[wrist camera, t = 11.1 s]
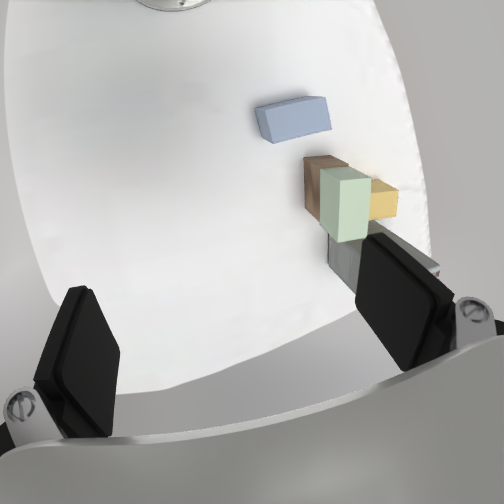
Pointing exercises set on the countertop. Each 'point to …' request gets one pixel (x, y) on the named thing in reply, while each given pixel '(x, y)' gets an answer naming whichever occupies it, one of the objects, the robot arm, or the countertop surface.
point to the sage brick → (344, 203)
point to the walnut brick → (316, 180)
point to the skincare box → (349, 252)
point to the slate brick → (293, 118)
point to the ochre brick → (382, 200)
